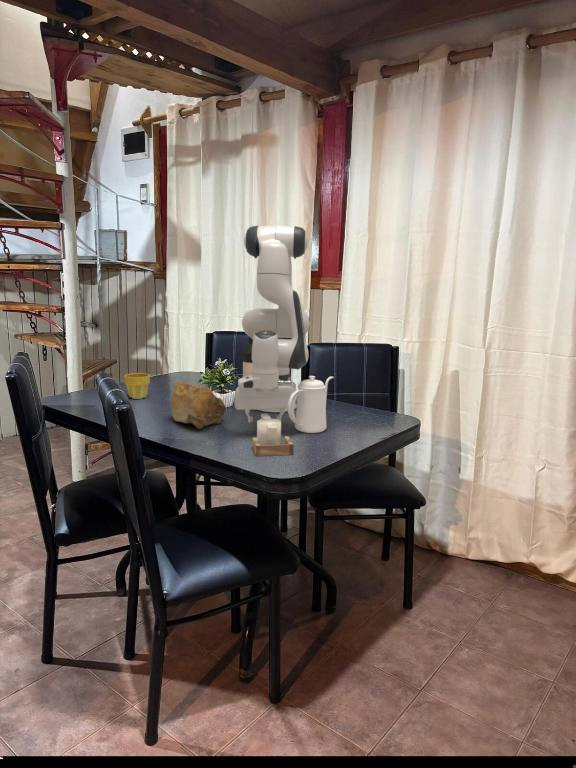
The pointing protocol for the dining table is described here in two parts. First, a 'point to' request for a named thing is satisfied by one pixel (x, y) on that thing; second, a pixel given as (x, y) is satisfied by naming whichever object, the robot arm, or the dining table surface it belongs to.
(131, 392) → the plant pot
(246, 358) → the wine bottle
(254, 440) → the cradle
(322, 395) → the coffeepot
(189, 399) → the rough brown rock
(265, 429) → the white bar with bulge
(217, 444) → the dining table surface
